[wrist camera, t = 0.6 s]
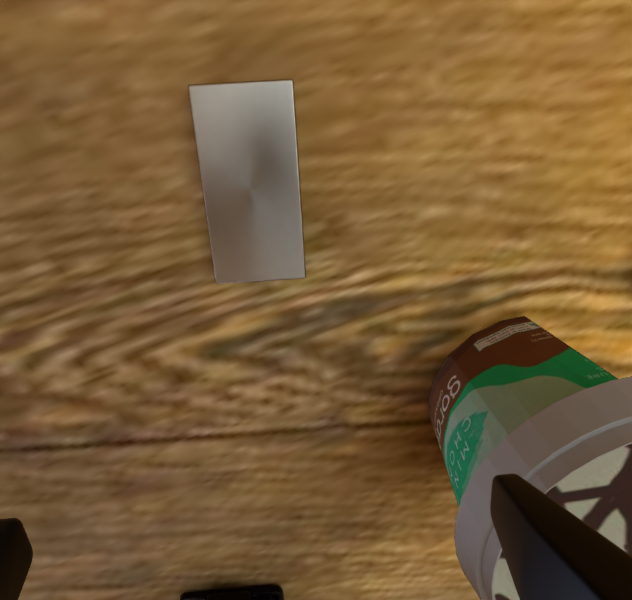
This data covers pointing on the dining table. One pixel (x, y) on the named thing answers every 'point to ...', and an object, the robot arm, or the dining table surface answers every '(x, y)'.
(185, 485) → the dining table surface
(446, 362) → the food container
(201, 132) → the silver flat block
